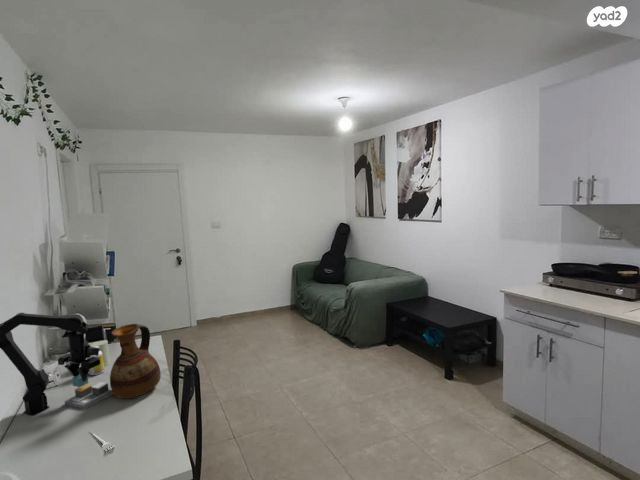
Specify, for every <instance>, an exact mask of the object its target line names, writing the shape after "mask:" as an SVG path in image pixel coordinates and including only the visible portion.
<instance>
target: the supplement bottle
mask: <svg viewBox="0 0 640 480" xmlns="http://www.w3.org/2000/svg"><path fill="white" fill-rule="evenodd" d="M94 347H96V348H99V346H94ZM91 357H95V358H99V359H100V362H101V364H99V365H97V366H95V367H93V368H91V369H90V370H89V373H88V375H90V376H97V375H100V374H102V373H104V371H105V366H104V363H103V355H102V352H101V351H99V354H98V356H96V355H90V357H89V358H91ZM89 358H86V360H87V359H89Z"/></svg>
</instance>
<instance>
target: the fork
mask: <svg viewBox="0 0 640 480" xmlns="http://www.w3.org/2000/svg"><path fill="white" fill-rule="evenodd" d="M93 435H94V436H95V437H96V438H97V439H98V440H99V441H100V442H101V443H102V444H103V445H102V444H101V443H100V442H99V441H98V440H97V439H96V438H95V437H94V436H93ZM93 435H92V436H93V437H94V438H95V439H96V440H97V441H98V442H99V443H100V444H101V445H102V446H101V448H102V447H103V446H104V445H106V444H109V443H110V442H108V441H105V440H104V439H102V438H101V437H100V436H98V435H97V434H95V433H94V434H93ZM115 447H116V445H113V446H112V447H111V446H110V448H109V447H108V450H107V449H106V450H105V451H104V452H107V451H110V450H111V449H113V448H115Z"/></svg>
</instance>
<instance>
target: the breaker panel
mask: <svg viewBox="0 0 640 480" xmlns="http://www.w3.org/2000/svg"><path fill="white" fill-rule="evenodd" d="M113 394H114V393H113V391H112V389H109V390H108V391H106V392H105V393H103V394H101V395H99V396H98V395H93V393H91V394H89V395H87V396H85V397H83V398H78V397H76V395H74V396H71V397H69V398H68V399H65V400H64V405H65V406H70V407H74V408H78V409H82V410H86V409H88V408H89V407H91V406H93V405H95V404H97V403H98V402H100V401H102V400H104V399H105V398H108V397H109V396H111V395H113Z"/></svg>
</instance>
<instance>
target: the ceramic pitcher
mask: <svg viewBox="0 0 640 480" xmlns="http://www.w3.org/2000/svg"><path fill="white" fill-rule="evenodd" d="M138 330H140V333H141V334H140V335H141V341H140V346H139V347H138V345H137V342H136V334H137V332H138ZM111 335H112V336H114V337H115V338H117V339H118V341H119V346H120V349H121V351H120V355H119V356H117V358H116V359H115V361H114V362H113V365H112V367H111V369H110V374H109V385H110V388H111V389H110V390H112V391H113V394H114V395H115V396H116V397H117V398H121V399H129V398H135V397H138V396H141V395H145V394H146V393H147V392H149V391H150V390H152V389H154V388H155V387H156V386H157V385H158V384H159V383H160V380H161V379H162V378H161V377H162V375H161V373H162V371H161V368H160V365H159V363H158V361H157V360H156V358H155V357H154V356H153V355H152V354H151V352H150V351H149V347H150V342H151V341H150V340H151V333H150V329H149V327H147V325H144V324H138V323H130V324H124V325H121V326H120V327H117V328H115V329H114V330H112V331H111Z"/></svg>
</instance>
